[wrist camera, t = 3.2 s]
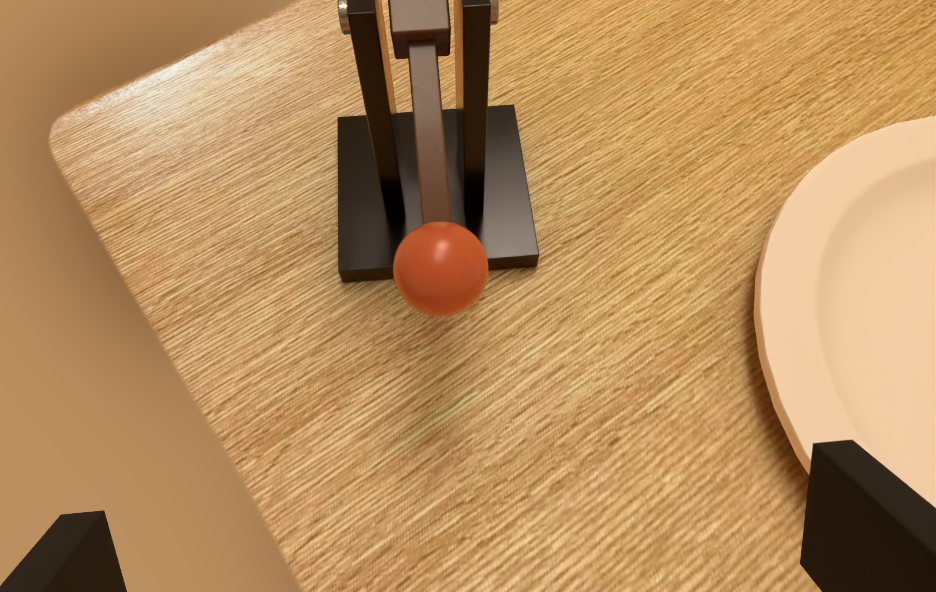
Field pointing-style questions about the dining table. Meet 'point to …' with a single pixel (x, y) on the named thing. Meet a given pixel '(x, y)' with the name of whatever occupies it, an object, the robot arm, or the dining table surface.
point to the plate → (857, 303)
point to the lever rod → (432, 175)
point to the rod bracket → (395, 161)
